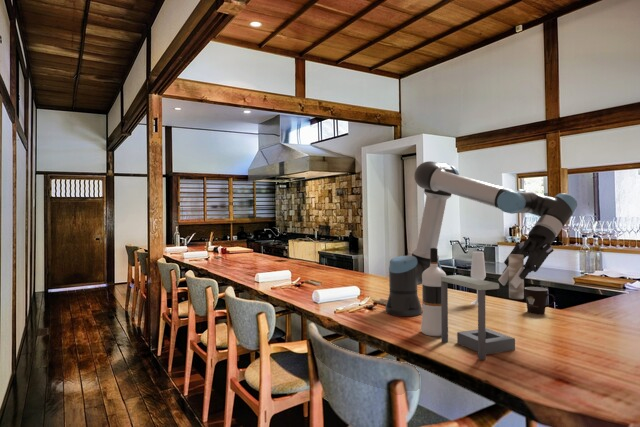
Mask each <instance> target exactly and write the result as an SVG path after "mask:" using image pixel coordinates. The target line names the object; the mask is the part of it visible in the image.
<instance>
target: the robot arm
mask: <svg viewBox="0 0 640 427" xmlns="http://www.w3.org/2000/svg"><path fill="white" fill-rule="evenodd" d="M413 175H414V180H415V183H416V185H417V186H419V187H420V188H421V189H423V193H424V195H425V196H426V197H425V203H424V208H423V213H422V218H421V224H420V228H419V233H418V234H419V235H418V239H417V244H416V245H417V246H416V248H415V249H414V250H412V254H411V255H402V256H401V255H400V256H394V257H393V258H391V259H390V260H389V265H388V273H389V274H388V278H389V292H388V293H389V294H388V297H387V300H386V302H385V303H386V304H385V313H386V314H389V315H392V316H397V317H415V316H419V315H421V314H423V308H422V304H421V302H420V299H419V295H418V286H420V285H422V273H423V271H425V270H426V269H427V268H429V267H430V248H437V249H438V244H439V241H440V240H439V239H440V237H441V236H440V235H441V231H442V230H441V229H442V225H443V222H444V221H443V220H444V214H445V210H446V206H447V200H448V199H449V198H451V197H452V195H455V196H457V197H461V198H465V199H468V200H470V201H474V202H477V203H480V204H484V205H487V206H490V207H493V208H495V209H499V210H500V211H502V212H503V213H507V214H531V215H533V216H538V217H539V218H538V220H537V221H536V223H535V224H534V225H533V226H532V228H531V229H530V231H528V234H527V235H528V236H527V238H526V239H525V240H524V241H523V242H520V241H516V242H515V245H514V247H513V249H512V250H511V251H510V253H509V254H521V255H524V259H526V258H527V259H526V261H525V264H524V265H523V267H524V268H523V267H521V268H520V269H519V271H518V272H517V273H516V275H515V276H514V278H513V279H512V280H511V282H510V283H511V284H512V285H513V286H514V288H517V287H518V286H519V284H520V283H521V281H522V280H523V279H524V280H525V279H526V278H527V276H528V275H529V274H530V273H532V272H534V273H537V272H538V270H539V269H540V267H542V265H543V264H544V262H545V260H546V259H547V258H549V257H548V256H549V255H550V254H552V253H553V252H554V251H555V250H554V249H553V247H552V246H551V245H552V244H553V243H554V241H555V240H556V237H558V236H559V234H560V232H561V231H562V230H563V228H564V226H565V225H566V223H568V221H569V220H570V218H571V217H572V216H573V215H574V212H575V210H576V209H577V207H578V202H577V199H576V198H575V197H574V196H573V195H571V194H568V193H564V192H562V193H561V192H559V193H558V194H556V195H555V196H554V197H552V196H547V195H543V194H540V193H538V192H537V193H536V192H534V191H531V190H527V189H522V188H518V189H517V190H515V189H510V188H507V187H503V186H501V185H495V184H492V183H488V182H485V181H481V180H479V179H474V178H472V177H467V176H464V175H460V173H459V171H458V170H457V168H456V167H455V166H454V165H453V164H449V163H446V162H437V161H436V162H435V161H424V162H421V163H419V165H418V166H417V167H416V168H415V171H414V174H413ZM439 258H440V256H439V255H438V267H439V268H440V269H442V265H441V263H440V260H439ZM503 263H504V264H505V266H506V267H505V268H504V269H503V271H502V274H500V277H499V278H498V279H497V280H498V282H499V284H501V286H503V287H504V286H506V284H507V283H508V282H509V255H507V257H506V258H505V260H504V261H503Z"/></svg>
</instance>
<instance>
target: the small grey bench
mask: <svg viewBox="0 0 640 427" xmlns="http://www.w3.org/2000/svg"><path fill="white" fill-rule="evenodd" d="M448 284H453V285H456V286H457V285H458V286H461V287H464V288H465V287H466V288H469V289H473V290H476V291H477V290H478V305H477V330H478V352H477V356H478V358H477V359H478V360H480V361H486V359H487V356H486V355H487V354H486V328H487V327H486V324H487V323H486V305H485V303H486V291H487V290H498V289H499V290H500V282H499V283H498V282H495V281H489V280H485V279H484V280H480V279H475V278H472V277H471V276H464V275H461V274H454V275H446V276H441V328H442V336H441V343H449V321H448V320H449V316H448V314H449V312H448V311H449V310H448V309H449V308H448V306H449V304H448V303H449V302H448V299H449V297H448V296H449V292H448V289H449V288H448V287H449V286H448Z"/></svg>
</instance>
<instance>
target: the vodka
mask: <svg viewBox="0 0 640 427" xmlns="http://www.w3.org/2000/svg"><path fill="white" fill-rule="evenodd" d="M438 254H439V252H438V247H437V248H430V267H429V268H427V269H426V270H425V271H423V273H422V284H421V285H422V286H421V287H422V288H421V290H422V304H421V307H422V315H421V316H422V317H421V325H420V331H421V333H422V334H424V335H425V336H428V337H437V338H438V337H442V328H441V276H447V274H446V272H445V271H444V270H443V269H442V268H441V269H440V268H439V267H438V261H439V259H438V256H439V255H438Z"/></svg>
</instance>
